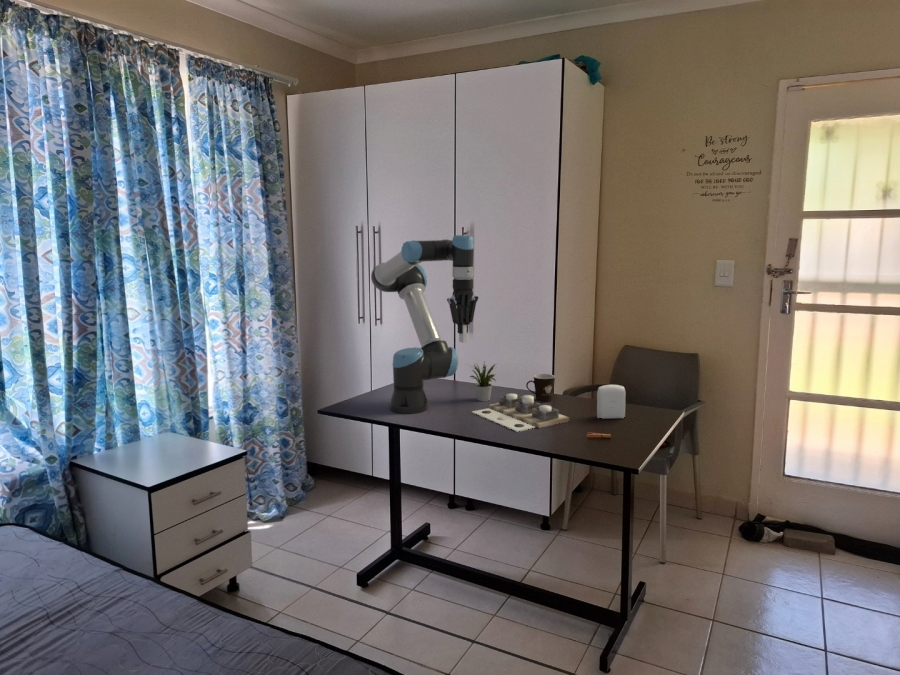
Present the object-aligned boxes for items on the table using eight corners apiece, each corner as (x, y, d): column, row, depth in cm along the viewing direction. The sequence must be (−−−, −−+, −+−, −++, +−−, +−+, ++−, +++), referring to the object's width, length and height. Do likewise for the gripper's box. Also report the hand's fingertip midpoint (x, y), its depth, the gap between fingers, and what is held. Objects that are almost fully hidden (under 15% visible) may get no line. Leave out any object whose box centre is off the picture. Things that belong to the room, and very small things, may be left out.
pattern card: (471, 412, 242) (471, 411, 242) (488, 409, 246) (488, 407, 246) (517, 432, 219) (517, 430, 219) (535, 428, 223) (535, 426, 223)
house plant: (461, 404, 254) (461, 364, 251) (464, 395, 268) (464, 357, 265) (497, 405, 252) (497, 364, 249) (498, 395, 266) (498, 357, 263)
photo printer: (598, 419, 232) (599, 386, 230) (595, 415, 236) (596, 383, 234) (626, 419, 232) (627, 386, 230) (623, 415, 236) (624, 383, 234)
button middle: (519, 405, 239) (519, 396, 238) (528, 403, 241) (528, 394, 241) (527, 408, 235) (527, 398, 235) (536, 406, 238) (536, 397, 237)
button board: (489, 408, 248) (489, 397, 247) (517, 402, 255) (517, 391, 254) (539, 428, 223) (539, 415, 222) (569, 421, 230) (569, 409, 229)
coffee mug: (553, 397, 262) (554, 373, 261) (555, 403, 254) (555, 378, 252) (525, 397, 263) (525, 373, 262) (526, 402, 255) (526, 378, 253)
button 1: (503, 403, 248) (503, 394, 247) (512, 401, 250) (512, 392, 249) (510, 405, 244) (510, 397, 243) (519, 404, 246) (519, 395, 246)
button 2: (536, 415, 231) (536, 406, 230) (545, 413, 233) (546, 404, 233) (544, 418, 227) (544, 409, 227) (553, 416, 230) (554, 407, 229)
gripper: (454, 280, 223) (454, 345, 228) (483, 278, 231) (482, 341, 235) (442, 278, 229) (442, 342, 234) (470, 276, 237) (470, 338, 241)
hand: (462, 341), depth 235 cm, fingers closed
